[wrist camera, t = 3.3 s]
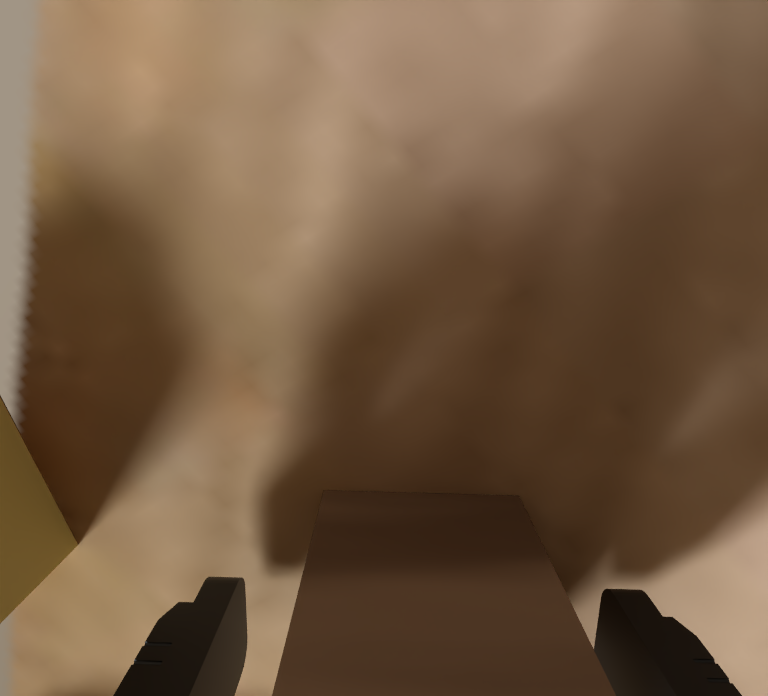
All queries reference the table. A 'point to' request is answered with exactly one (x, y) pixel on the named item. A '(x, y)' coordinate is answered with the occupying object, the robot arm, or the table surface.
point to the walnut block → (432, 603)
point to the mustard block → (25, 521)
